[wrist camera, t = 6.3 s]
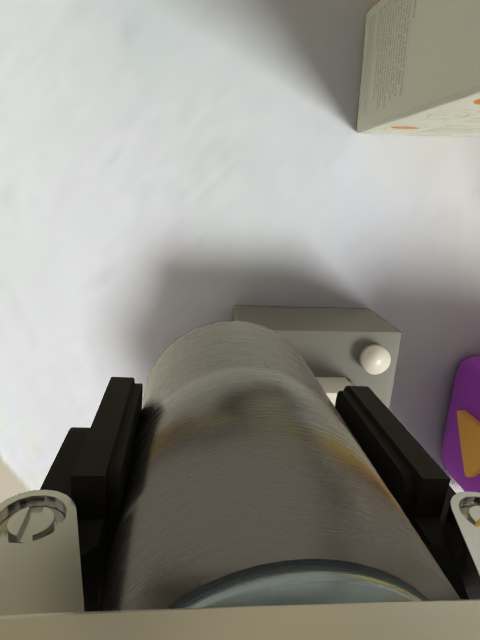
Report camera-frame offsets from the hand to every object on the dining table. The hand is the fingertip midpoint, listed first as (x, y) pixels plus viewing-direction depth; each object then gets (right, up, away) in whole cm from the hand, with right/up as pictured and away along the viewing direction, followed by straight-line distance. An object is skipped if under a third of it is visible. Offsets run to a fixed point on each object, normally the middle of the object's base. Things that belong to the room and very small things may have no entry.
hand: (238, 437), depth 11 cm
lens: (0, +1, +2) cm, 2 cm away
